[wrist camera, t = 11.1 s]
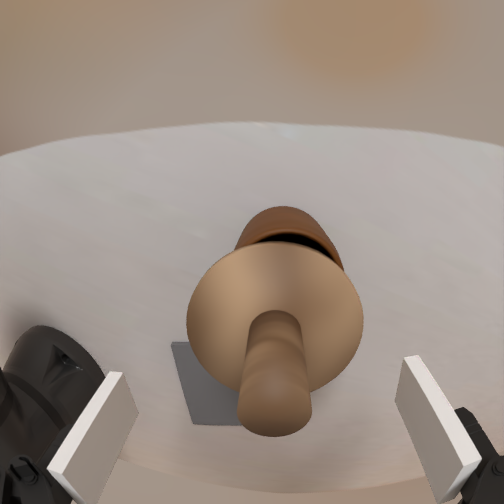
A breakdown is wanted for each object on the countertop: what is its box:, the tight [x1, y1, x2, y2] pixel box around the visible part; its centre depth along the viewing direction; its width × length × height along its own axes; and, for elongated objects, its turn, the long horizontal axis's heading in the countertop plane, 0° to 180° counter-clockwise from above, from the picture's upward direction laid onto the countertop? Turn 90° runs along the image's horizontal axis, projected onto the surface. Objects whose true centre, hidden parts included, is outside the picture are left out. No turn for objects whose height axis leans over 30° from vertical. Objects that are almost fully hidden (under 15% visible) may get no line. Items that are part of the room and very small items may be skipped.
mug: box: [234, 206, 344, 271], centre depth 24 cm, size 12×8×9 cm, turn 169°
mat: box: [171, 342, 242, 425], centre depth 32 cm, size 12×12×1 cm
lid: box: [186, 241, 363, 437], centre depth 16 cm, size 11×11×8 cm
